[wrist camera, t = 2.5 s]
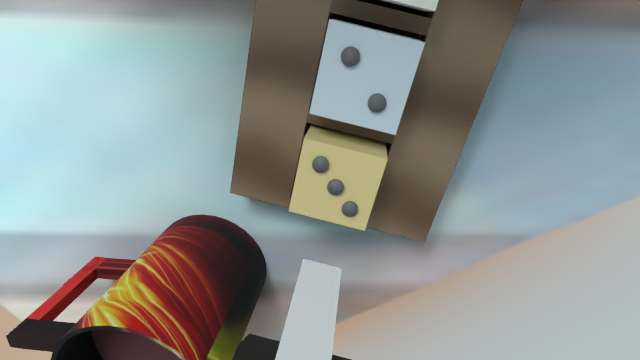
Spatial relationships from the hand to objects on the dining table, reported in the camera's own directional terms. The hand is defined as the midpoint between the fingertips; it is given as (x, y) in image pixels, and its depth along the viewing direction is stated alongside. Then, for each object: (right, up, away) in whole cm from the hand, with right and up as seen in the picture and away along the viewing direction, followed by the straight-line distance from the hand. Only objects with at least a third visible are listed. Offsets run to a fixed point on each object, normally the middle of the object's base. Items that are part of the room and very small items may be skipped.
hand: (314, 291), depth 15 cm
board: (+3, +12, +10) cm, 15 cm away
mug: (-11, -4, +19) cm, 22 cm away
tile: (+2, +5, +11) cm, 13 cm away
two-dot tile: (+3, +11, +9) cm, 14 cm away
